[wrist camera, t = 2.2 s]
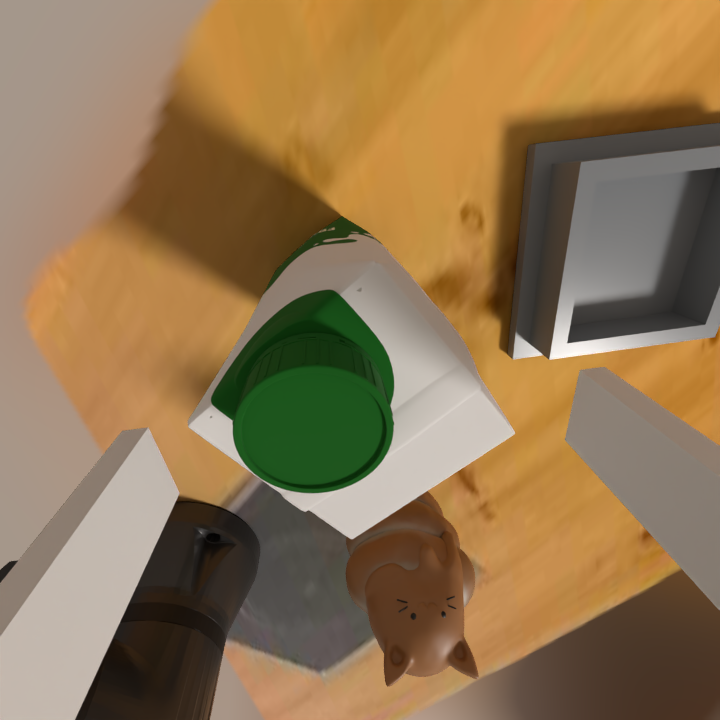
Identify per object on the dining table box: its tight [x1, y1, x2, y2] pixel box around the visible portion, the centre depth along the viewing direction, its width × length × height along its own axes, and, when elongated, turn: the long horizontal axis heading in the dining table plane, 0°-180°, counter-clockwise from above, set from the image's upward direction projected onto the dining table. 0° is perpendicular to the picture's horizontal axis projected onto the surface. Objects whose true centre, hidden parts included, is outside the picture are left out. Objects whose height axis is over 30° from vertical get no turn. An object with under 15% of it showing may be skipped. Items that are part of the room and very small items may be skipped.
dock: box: [508, 123, 720, 360], centre depth 26 cm, size 16×16×4 cm
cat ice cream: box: [346, 491, 478, 686], centre depth 28 cm, size 9×8×18 cm
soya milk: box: [188, 216, 515, 539], centre depth 19 cm, size 9×9×20 cm
